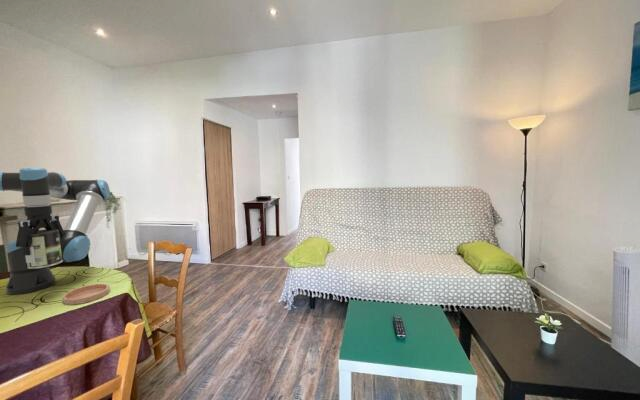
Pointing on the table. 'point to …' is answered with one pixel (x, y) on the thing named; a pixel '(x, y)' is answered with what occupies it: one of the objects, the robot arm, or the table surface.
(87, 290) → the saucer
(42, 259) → the coffee can
